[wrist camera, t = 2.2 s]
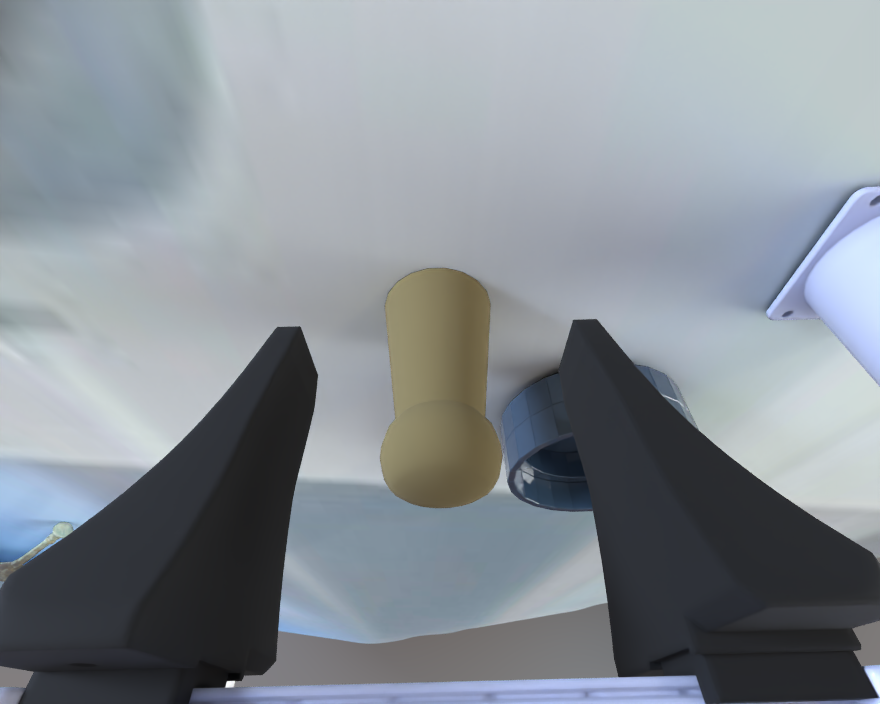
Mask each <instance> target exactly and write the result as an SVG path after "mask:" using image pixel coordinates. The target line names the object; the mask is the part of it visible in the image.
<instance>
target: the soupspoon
mask: <svg viewBox="0 0 880 704" xmlns="http://www.w3.org/2000/svg"><path fill="white" fill-rule="evenodd" d="M72 532H73V527H72V525H71V524H69V523H67V522H60V523H58V524H57V525H56V526H54V528H53V533H52V534H50V535H49V536H48V537H46V539H45V540H44V541H43V542H42V543H40V544H39V545H37V546H36V547H34V548H33V549H32V550H30V551H29V552H28V553H26V554H25V555H24V556H22V557H20V558H19V559H17V560H15V561H13V562H0V581H4V582H5V580H6V579H7V577H8V576H9V575H10V574H12V573H13V572H15V571H16V570H18V569H19V568H21V567H22V566H23V565H22V564H24V563H26V562H27V561H28V560H30V559H31V558H32V557H34V556H35V555H36V554H37V553H38V552H40V551H41V550H42V549H44V548H45V547H46V546H48V545H49V544H52V543H54V542H55V541H56V540H57V539H59V538H65V537H66V536H67V535H69V534H70V533H72Z"/></svg>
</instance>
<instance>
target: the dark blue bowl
mask: <svg viewBox="0 0 880 704" xmlns="http://www.w3.org/2000/svg"><path fill="white" fill-rule="evenodd" d="M635 366H636V367H637V368H638V369H639V370H640V371H641V373H642V374H643V375H644V376H645V377H646V378H647V379H648V380H649V381H650V383H651V384H652V385H653V386H654V387H655V388H656V389H657V390H658V391H659V392H660V393H661V394H662V395H663V396H664V398H665V399H666V400H667V401H668V402H669V403H670V404H671V405H672V406H673V407H674V408H675V409H676V410H677V411H678V412H679V413H680V414H681V415H683V416H684V417H685V418H686V419H687V420H688V421H689V422H690V423H691V424H692V425H693V426H694V427H695V428H697V425H696V423H695V421H694V419H693V417H692V415H691V413H690V411H689V409H688V407H687V405H686V403H685V401H684V399H683V396H682V394H681V392H680V390H679V388H678V386H677V385H676V384H675V383H674V382H673V381H672V380H671V379H670V378H669V377H668V376H667V375H666V374H664V373H662V372H660V371H657V370H655V369H652V368H650V367H646V366H640V365H635ZM697 429H698V428H697ZM500 430H501V437H502V445H503V453H504V461H505V468H506V476H507V482H508V485H509V488H510V490H511V492H512V493H513V494H514V495H515V496H516V497H518V498H519V499H520V500H522V501H524V502H526V503H528V504H531V505H533V506H536V507H541V508H545V509H550V510H558V511H570V512H571V511H572V512H575V511H593V508H592V502H591V497H590V492H589V488H588V484H587V480H586V476H585V473H584V469H583V466H582V463H581V459H580V456H579V453H578V449H577V446H576V442H575V439H574V436H573V432H572V429H571V426H570V422H569V419H568V415H567V412H566V408H565V405H564V400H563V394H562V388H561V382H560V375H559V373H557V374H554V375H551V376H549V377H546V378H544V379H542V380H540V381H538V382H536V383H535V384H533V385H531V386H529V387H527V388H526V389H525V390H523V391H522V392H521V393H520V394H519V395H518V396H517V397H515V398H514V399H513V400H512V401H511V402H510V404H509V405H508V407H507V408H506V410H505V411H504V413H503V415H502V419H501V426H500Z"/></svg>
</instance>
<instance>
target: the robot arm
mask: <svg viewBox="0 0 880 704" xmlns="http://www.w3.org/2000/svg"><path fill="white" fill-rule="evenodd" d="M874 198H875V199H874ZM766 315H767V317H768V318H769V319H770V320H798V319H821V320H822V321H823V322H824V323H825V324H826V325H827V327H828V328H829V329H830V330H831V331H832V332H833V333H834V335H835V336H836V337H837V338H838V339H839V340H840V341H841V343H842V344H843V345H844V346H845V347H846V348H847V350H848V351H849V352H850V353H851V354H852V355H853V356H854V358H855V359H856V360H857V361H858V362H859V363H860V364H861V366H862V367H863V368H864V369H865V370H866V371H867V373H868V374H869V375H870V376H871V377H872V378H873V379H874V381H875V382H876V383H877V384H878V385H879V386H880V187H866V188H862V189H860V190H858V191H856V192H855V193H854V194H853V195H852V196H851V197H850V198H849V199H848V201H847V202H846V204H845V205H844V206H843V208H842V209H841V210H840V212H839V213H838V214H837V216H836V217H835V219H834V220H833V221H832V223H831V224H830V225H829V227H828V228H827V229H826V231H825V232H824V234H823V235H822V236H821V238H820V239H819V240H818V242H817V243H816V244H815V246H814V247H813V249H812V250H811V251H810V253H809V254H808V255H807V257H806V258H805V259H804V261H803V262H802V264H801V265H800V266H799V268H798V269H797V270H796V272H795V273H794V274H793V276H792V277H791V279H790V280H789V281H788V283H787V284H786V285H785V287H784V288H783V289H782V291H781V292H780V294H779V295H778V296H777V298H776V299H775V300H774V302H773V303H772V304H771V306H770V307H769V309H768V310H767V312H766ZM559 375H560V382H561V388H562V394H563V400H564V405H565V408H566V412H567V415H568V419H569V422H570V426H571V429H572V432H573V436H574V439H575V442H576V446H577V449H578V453H579V456H580V459H581V463H582V466H583V469H584V473H585V476H586V480H587V484H588V488H589V492H590V497H591V502H592V508H593V513H594V518H595V524H596V529H597V535H598V541H599V547H600V553H601V559H602V566H603V573H604V580H605V587H606V594H607V601H608V609H609V617H610V625H611V633H612V642H613V653H614V660H615V664H616V668H617V672H618V677H617V678H580V679H579V678H577V679H544V680H543V679H538V680H500V681H461V682H423V683H383V684H344V685H305V686H266V687H227V688H225V687H226V683H227V681H242V679H243V677H244V675H263V674H264V673H265V672H266V671H267V670H268V669H269V668H270V667H271V666H272V665H273V664H274V663H275V661H276V653H277V638H278V624H279V611H280V600H281V589H282V579H283V569H284V561H285V552H286V544H287V536H288V528H289V521H290V514H291V507H292V500H293V495H294V490H295V485H296V481H297V477H298V473H299V469H300V465H301V461H302V457H303V453H304V449H305V445H306V441H307V437H308V433H309V429H310V425H311V421H312V416H313V412H314V406H315V399H316V390H317V380H318V374H317V371H316V368H315V366H314V363H313V360H312V357H311V354H310V352H309V349H308V346H307V343H306V340H305V338H304V335H303V332H302V329H301V327H300V326H299V327H277V328H276V329H275V330H274V332H273V333H272V334H271V335H270V337H269V338H268V339H267V341H266V342H265V343H264V345H263V346H262V347H261V349H260V350H259V351H258V353H257V354H256V355H255V357H254V358H253V359H252V360H251V362H250V363H249V364H248V366H247V367H246V368H245V370H244V371H243V372H242V373H241V374H240V376H239V377H238V378H237V379H236V381H235V382H234V383H233V384H232V386H231V387H230V388H229V389H228V391H227V392H226V393H225V394H224V395H223V397H222V398H221V399H220V400H219V401H218V402H217V403H216V404H215V406H214V407H213V408H212V409H211V410H210V411H209V412H208V413H207V415H206V416H205V417H204V418H203V419H202V420H201V421H200V422H199V423H198V424H197V426H196V427H195V428H194V429H193V430H192V431H191V432H190V433H189V434H188V435H187V436H186V437H185V438H184V439H183V440H182V441H181V442H180V443H179V444H178V445H177V446H176V447H175V448H174V449H173V450H172V451H171V452H170V453H169V454H167V455H166V456H165V457H164V458H163V459H162V460H161V461H160V462H159V463H158V464H156V465H155V466H154V467H153V468H152V469H151V470H150V471H149V472H147V473H146V474H145V475H144V476H143V477H142V478H140V479H139V480H138V481H137V482H136V483H135V484H133V485H132V486H131V487H130V488H129V489H128V490H126V491H125V492H124V493H123V494H122V495H120V496H119V497H118V498H116V499H115V500H114V501H113V502H111V503H110V504H109V505H107V506H106V507H105V508H104V509H102V510H101V511H100V512H99V513H97V514H96V515H95V516H93V517H92V518H91V519H89V520H88V521H87V522H85V523H84V524H83V525H81V526H80V527H79V528H77V529H76V530H74V531H73V532H72V533H70V534H69V535H67V536H66V537H65V538H63V539H62V540H60V541H59V542H57V543H56V544H54V545H53V546H51V547H50V548H49V549H47V550H46V551H44V552H43V553H41V554H40V555H38V556H37V557H35V558H34V559H32V560H31V561H30V562H28V563H27V564H25V565H24V566H22V567H21V568H19V569H18V570H16V571H15V572H13V573H12V574H10V575H9V576H8V577H7V579H6V580H5V582H4V584H3V585H2V587H1V589H0V666H4V667H10V668H16V669H22V670H27V671H33V672H34V673H33V675H32V677H31V679H30V681H29V683H28V685H27V687H26V688H18V687H0V704H880V665H871V666H861V665H860V663H859V661H858V659H857V657H856V656H855V654H854V652H853V651H856V650H861V644H860V642H859V640H858V638H857V637H856V635H855V633H854V631H853V630H852V628H855V627H858V626H861V625H865V624H869V623H872V622H876V621H880V563H879V562H878V560H877V559H876V558H875V556H874V555H873V553H872V552H870V551H868V550H867V549H865V548H863V547H862V546H860V545H859V544H857V543H855V542H854V541H852V540H850V539H849V538H847V537H846V536H844V535H842V534H841V533H839V532H837V531H836V530H834V529H833V528H831V527H829V526H828V525H826V524H824V523H823V522H821V521H819V520H818V519H816V518H815V517H813V516H812V515H810V514H809V513H807V512H806V511H804V510H803V509H801V508H800V507H798V506H797V505H795V504H794V503H792V502H791V501H789V500H788V499H786V498H785V497H783V496H782V495H781V494H779V493H778V492H776V491H775V490H773V489H772V488H771V487H769V486H768V485H766V484H765V483H764V482H762V481H761V480H760V479H758V478H757V477H756V476H754V475H753V474H752V473H750V472H749V471H748V470H746V469H745V468H744V467H743V466H741V465H740V464H739V463H737V462H736V461H735V460H733V459H732V458H731V457H730V456H728V455H727V454H726V453H725V452H723V451H722V450H721V449H720V448H718V447H717V446H716V445H715V444H714V443H713V442H711V441H710V440H709V439H708V438H707V437H706V436H705V435H703V434H702V433H701V432H700V431H699V430H698V429H697V428H695V427H694V426H693V425H692V424H691V423H690V422H689V421H688V420H687V419H686V418H685V417H684V416H683V415H681V414H680V413H679V412H678V411H677V410H676V409H675V408H674V407H673V406H672V405H671V404H670V403H669V402H668V401H667V400H666V399H665V398H664V396H663V395H662V394H661V393H660V392H659V391H658V390H657V389H656V388H655V387H654V386H653V385H652V384H651V383H650V381H649V380H648V379H647V378H646V377H645V376H644V375H643V374H642V373H641V371H640V370H639V369H638V368H637V367H636V366H635V365H634V363H633V362H632V361H631V360H630V359H629V358H628V356H627V355H626V354H625V353H624V352H623V350H622V349H621V348H620V347H619V346H618V344H617V343H616V342H615V341H614V340H613V338H612V337H611V336H610V335H609V333H608V332H607V331H606V330H605V329H604V327H603V326H602V325H601V324H600V323H599V321H598V320H597V319H587V320H573V323H572V326H571V330H570V333H569V336H568V340H567V343H566V346H565V350H564V353H563V357H562V360H561V363H560V367H559Z"/></svg>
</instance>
